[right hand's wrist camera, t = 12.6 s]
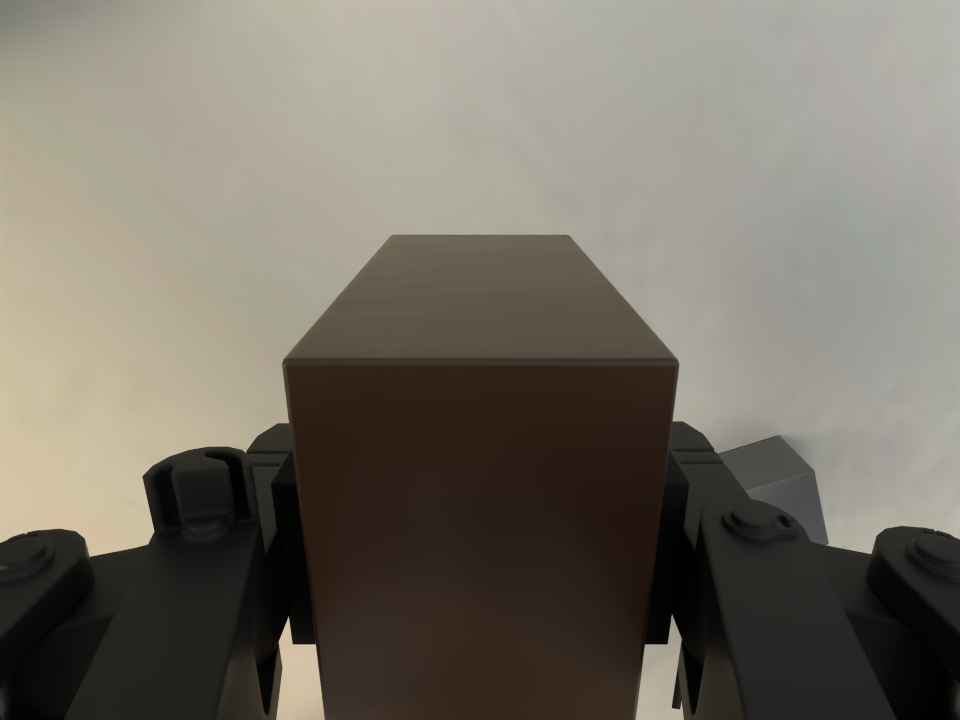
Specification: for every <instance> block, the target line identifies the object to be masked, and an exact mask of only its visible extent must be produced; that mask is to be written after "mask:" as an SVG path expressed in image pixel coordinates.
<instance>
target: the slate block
mask: <svg viewBox="0 0 960 720" xmlns="http://www.w3.org/2000/svg"><path fill="white" fill-rule="evenodd" d="M718 455H719V456H720V458H721V459H722V460H723V464H724V465H726V466H727V467H728V468H729V470H730V471H731V472H732V474H733V475H734V476H735V478H736V479H737V480H738V482H739V483H740V484H741V486H742V487H743V489H744V490H745V491H746V493H747V494H748V495H749V497H750V498H751V499H753V500H758V501H763V502H765V503H768V504H770V505H773V506H775V507H778V508H780V509H782V510H783V511H785V512H786V513H788V514H789V515H791V516H792V517H794V518H795V519H797V521H798V522H799V523H800V524H801V526H802V527H803V528H804V529H805V531H806V533H807V535H808V537H809V539H810V541H811V542H814V543H818V544H822V545H828V544H829V543H828V538H827V533H826V528H825V523H824V518H823V513H822V508H821V502H820V497H819V492H818V487H817V482H816V477H815V472H814V470H813V469H812V468H811V467H810V466H809V465H808V464H807V463H806V462H805V461H804V460H803V459H802V458H801V457H800V456H799V455H798V454H797V453H796V452H795V451H794V450H793V449H792V448H791V447H790V446H789V445H788V444H787V443H786V442H785V441H784V440H783V439H782V438H781V437H780V436H776V437H773V438H770V439H767V440H763V441H760V442H757V443H754V444H750V445H747V446H744V447H741V448H737V449H734V450H731V451H727V452H724V453H721V454H718Z"/></svg>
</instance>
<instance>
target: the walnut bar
mask: <svg viewBox="0 0 960 720" xmlns="http://www.w3.org/2000/svg"><path fill="white" fill-rule="evenodd" d="M282 368H283V376H284V384H285V393H286V401H287V409H288V417H289V426H290V434H291V442H292V451H293V459H294V467H295V475H296V484H297V492H298V500H299V509H300V517H301V525H302V533H303V542H304V550H305V558H306V567H307V575H308V583H309V591H310V600H311V608H312V616H313V624H314V633H315V641H316V649H317V658H318V666H319V674H320V682H321V691H322V699H323V707H324V716H325V720H636V712H637V704H638V696H639V688H640V680H641V672H642V664H643V656H644V647H645V639H646V631H647V623H648V615H649V607H650V599H651V591H652V582H653V574H654V566H655V558H656V550H657V542H658V534H659V526H660V518H661V509H662V501H663V493H664V485H665V477H666V469H667V461H668V453H669V445H670V436H671V428H672V420H673V412H674V404H675V396H676V388H677V380H678V371H679V362H678V359H677V358H676V357H675V356H674V355H673V354H672V352H671V351H670V350H669V349H668V348H667V347H666V346H665V344H664V343H663V342H662V341H661V340H660V339H659V338H658V336H657V335H656V334H655V333H654V332H653V331H652V330H651V328H650V327H649V326H648V325H647V324H646V323H645V322H644V320H643V319H642V318H641V317H640V316H639V315H638V314H637V312H636V311H635V310H634V309H633V308H632V307H631V306H630V304H629V303H628V302H627V301H626V300H625V299H624V298H623V296H622V295H621V294H620V293H619V292H618V291H617V290H616V288H615V287H614V286H613V285H612V284H611V283H610V282H609V280H608V279H607V278H606V277H605V276H604V275H603V274H602V272H601V271H600V270H599V269H598V268H597V267H596V266H595V264H594V263H593V262H592V261H591V260H590V259H589V258H588V256H587V255H586V254H585V253H584V252H583V251H582V250H581V248H580V247H579V246H578V245H577V244H576V243H575V242H574V240H573V239H572V238H571V237H570V236H569V235H392V236H390V237H389V239H388V240H387V241H386V242H385V243H384V244H383V245H382V247H381V248H380V249H379V250H378V251H377V252H376V253H375V255H374V256H373V257H372V258H371V259H370V260H369V262H368V263H367V264H366V265H365V266H364V267H363V268H362V270H361V271H360V272H359V273H358V274H357V275H356V277H355V278H354V279H353V280H352V281H351V282H350V283H349V285H348V286H347V287H346V288H345V289H344V290H343V292H342V293H341V294H340V295H339V296H338V297H337V298H336V300H335V301H334V302H333V303H332V304H331V305H330V307H329V308H328V309H327V310H326V311H325V312H324V313H323V315H322V316H321V317H320V318H319V319H318V320H317V321H316V323H315V324H314V325H313V326H312V327H311V328H310V330H309V331H308V332H307V333H306V334H305V335H304V336H303V338H302V339H301V340H300V341H299V342H298V343H297V345H296V346H295V347H294V348H293V349H292V350H291V351H290V353H289V354H288V355H287V356H286V357H285V358H284V360H283V363H282Z"/></svg>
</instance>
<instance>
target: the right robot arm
mask: <svg viewBox="0 0 960 720" xmlns="http://www.w3.org/2000/svg"><path fill="white" fill-rule="evenodd" d="M143 481H144V485H145V490H146V495H147V499H148V504H149V508H150V513H151V517H152V522H153V526H154V531H155V532H154V534H153V536H152V538H151V540H150V542H149V544H148V545H145V546H141V547H137V548H133V549H128V550H123V551H118V552H113V553H107V554H102V555H97V556H92V557H89V553H88V549H87V545H86V542H85V539H84V538H83V537H82V536H81V535H79V534H78V533H77V532H75V531H70V530H64V529H52V530H38V531H32V532H27V534H24V533H23V534H20V535H17V536H14V537H11V538H10V539H8V540H6V541H4V542H2V543H0V720H276V716H277V708H278V699H279V691H280V683H281V674H282V663H281V656H280V649H279V639H280V637H281V634H282V632H283V629H284V627H285V624H286V622H287V619H288V617H289V620H290V628H291V635H292V642H293V644H316V641H315V633H314V624H313V616H312V608H311V600H310V591H309V583H308V575H307V567H306V558H305V550H304V542H303V533H302V525H301V517H300V509H299V500H298V492H297V484H296V475H295V467H294V459H293V451H292V442H291V434H290V426H289V423H278V424H276V425H275V426H273V427H271V428H270V429H268V430H267V431H265V432H263V433H262V434H260V435H259V436H257V438H256V439H255V440H254V442H253V443H252V444H251V446H250V447H249V448H248V450H247V453H245V452H244V451H243V450H240V449H235V448H231V447H204V448H199V449H193V450H188V451H185V452H182V453H179V454H176V455H173V456H170V457H168V458H166V459H164V460H162V461H161V462H159V463H157V464H155V465H154V466H152V467H151V468H150V469H149V470H148V471H147V472H146V473H145V474H144V475H143ZM672 615H673V618H674V620H675V623H676V625H677V628H678V630H679V633H680V635H681V638H682V642H681V649H680V656H679V662H678V669H677V676H676V682H675V689H674V696H673V703H672V708H675V709H680V706H681V701H682V706H683V715H684V720H960V540H959V539H957V538H955V537H953V536H952V535H950V534H947V533H944V532H941V531H934V530H933V529H928V528H918V527H907V526H899V527H893V528H887V529H885V530H883V531H882V532H881V533H880V534H878V535H877V536H876V540H875V544H874V547H873V551H872V554H867V553H862V552H857V551H852V550H846V549H841V548H836V547H831V546H826V545H822V544H818V543H814V542H811V541H810V539H809V537H808V535H807V533H806V531H805V529H804V528H803V527H802V526H801V524H800V523H799V522H798V521H797V519H795V518H794V517H792V516H791V515H789V514H788V513H786V512H785V511H783V510H782V509H780V508H778V507H775V506H773V505H770V504H768V503H765V502H763V501H758V500H753V499H751V498H750V497H749V495H748V494H747V493H746V491H745V490H744V489H743V487H742V486H741V484H740V483H739V482H738V480H737V479H736V478H735V476H734V475H733V474H732V472H731V471H730V470H729V468H728V467H727V466H726V465H724V464H723V460H722V459H721V458H720V456H719V455H718V454H717V452H714V448H713V447H712V445H711V444H710V443H709V441H708V440H707V439H706V437H705V436H704V435H703V434H702V433H700V432H699V431H697V430H696V429H694V428H692V427H691V426H689V425H688V424H686V423H684V422H672V428H671V436H670V445H669V453H668V461H667V469H666V477H665V485H664V493H663V501H662V509H661V518H660V526H659V534H658V542H657V550H656V558H655V566H654V574H653V582H652V591H651V599H650V607H649V615H648V623H647V631H646V639H645V644H668V637H669V630H670V623H671V616H672Z"/></svg>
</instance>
